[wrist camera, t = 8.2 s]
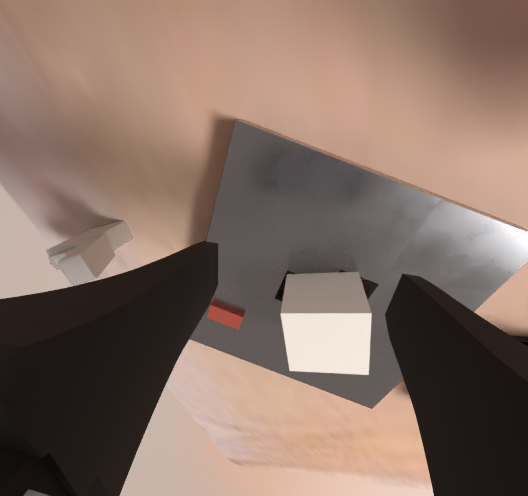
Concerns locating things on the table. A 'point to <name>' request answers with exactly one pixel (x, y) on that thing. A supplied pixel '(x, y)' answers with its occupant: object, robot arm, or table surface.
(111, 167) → the table surface
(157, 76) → the table surface
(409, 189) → the socket
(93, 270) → the grey angled bar block
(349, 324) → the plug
